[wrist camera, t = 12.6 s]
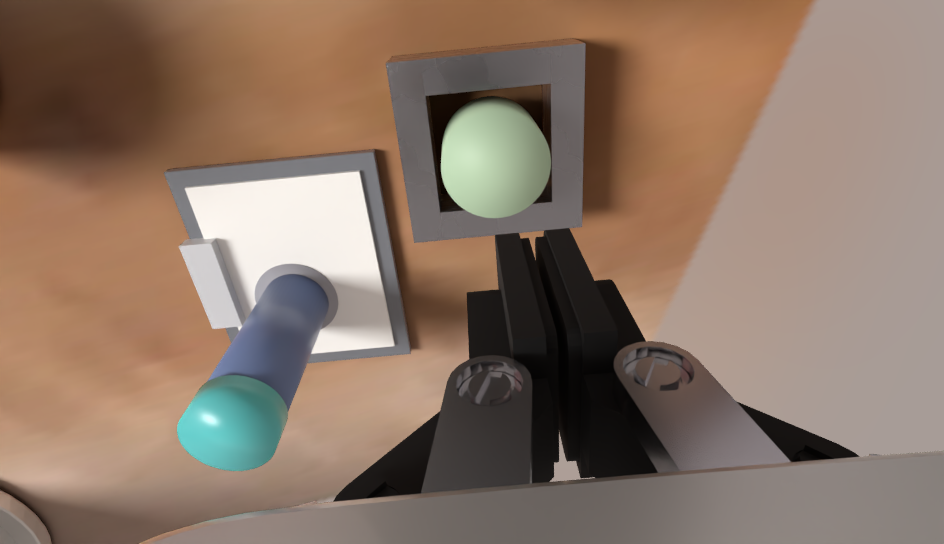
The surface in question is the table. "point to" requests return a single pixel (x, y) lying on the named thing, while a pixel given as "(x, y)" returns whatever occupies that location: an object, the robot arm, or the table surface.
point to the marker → (256, 378)
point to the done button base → (486, 70)
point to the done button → (494, 158)
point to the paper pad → (296, 245)
